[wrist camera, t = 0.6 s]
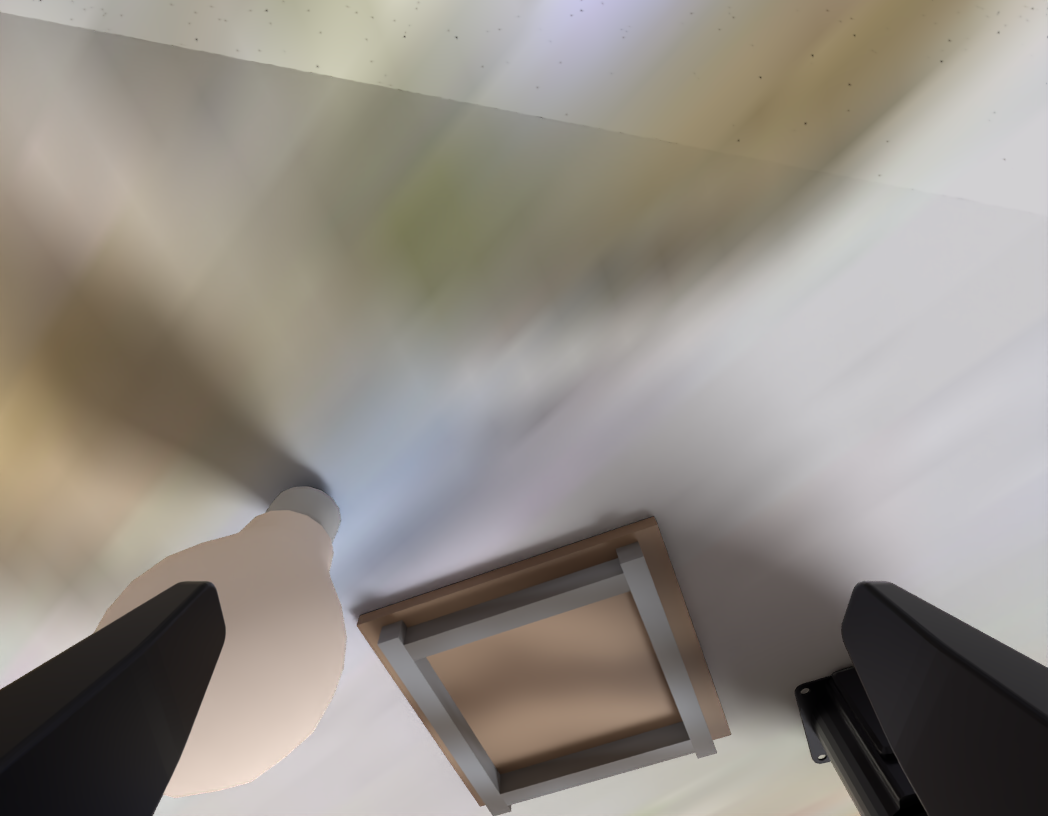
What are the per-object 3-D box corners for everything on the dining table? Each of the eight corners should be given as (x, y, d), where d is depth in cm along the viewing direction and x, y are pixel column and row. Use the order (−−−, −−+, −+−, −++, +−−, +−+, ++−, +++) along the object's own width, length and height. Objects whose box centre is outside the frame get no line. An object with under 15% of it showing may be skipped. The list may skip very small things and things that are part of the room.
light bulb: (194, 489, 22) (-64, 754, 12) (317, 402, 21) (142, 618, 11) (308, 592, 24) (171, 889, 14) (425, 520, 23) (365, 789, 13)
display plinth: (727, 724, 29) (739, 753, 27) (480, 795, 30) (479, 826, 29) (653, 516, 23) (664, 539, 22) (359, 615, 25) (350, 643, 24)
